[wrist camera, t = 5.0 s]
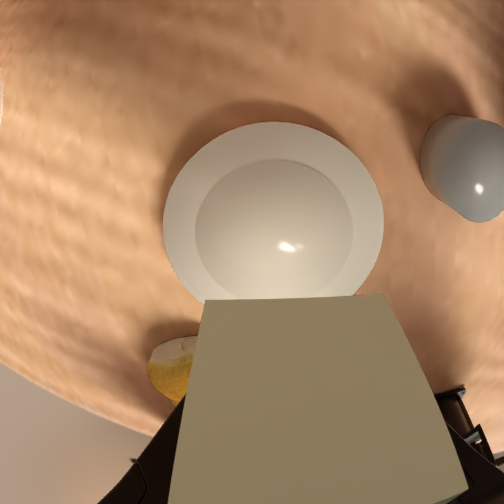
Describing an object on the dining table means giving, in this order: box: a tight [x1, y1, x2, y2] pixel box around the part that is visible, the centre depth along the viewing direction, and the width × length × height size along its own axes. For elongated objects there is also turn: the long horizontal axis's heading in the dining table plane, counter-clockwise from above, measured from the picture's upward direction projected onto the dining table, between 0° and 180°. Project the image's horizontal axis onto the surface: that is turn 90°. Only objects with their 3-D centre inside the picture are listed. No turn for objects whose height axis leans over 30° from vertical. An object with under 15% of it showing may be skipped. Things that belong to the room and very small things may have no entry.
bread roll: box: [147, 336, 198, 407], centre depth 23 cm, size 8×9×4 cm
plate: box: [163, 121, 384, 305], centre depth 18 cm, size 13×13×1 cm
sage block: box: [168, 294, 469, 504], centre depth 7 cm, size 5×5×6 cm
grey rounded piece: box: [420, 114, 504, 223], centre depth 14 cm, size 6×6×4 cm
